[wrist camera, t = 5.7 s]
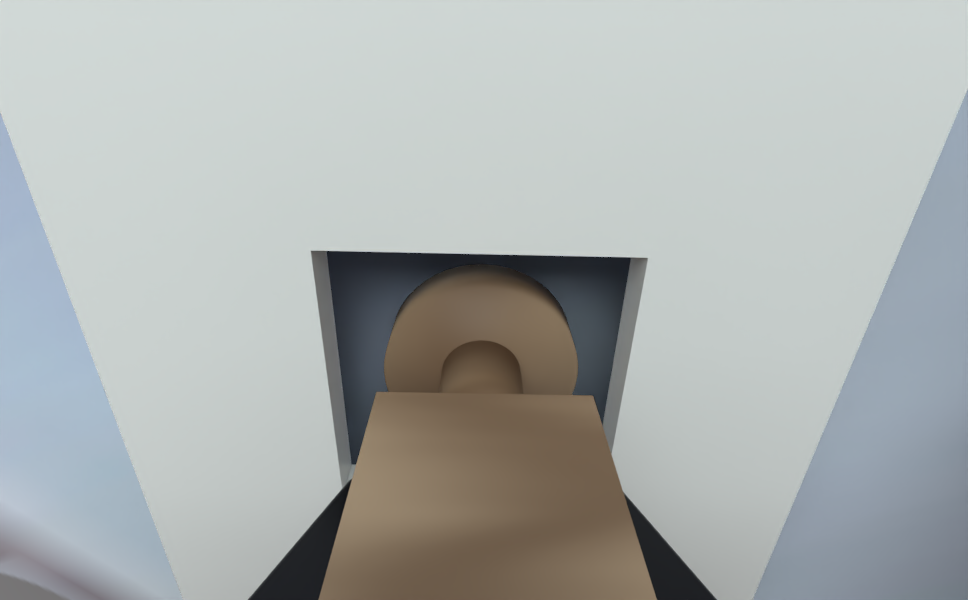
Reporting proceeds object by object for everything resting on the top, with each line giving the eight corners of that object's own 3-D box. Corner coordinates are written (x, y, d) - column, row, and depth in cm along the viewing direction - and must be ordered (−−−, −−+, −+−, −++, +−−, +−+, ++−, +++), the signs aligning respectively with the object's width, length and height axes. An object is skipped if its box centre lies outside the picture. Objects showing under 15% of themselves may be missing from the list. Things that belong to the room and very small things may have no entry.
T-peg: (579, 265, 12) (792, 767, 4) (560, 416, 14) (674, 954, 6) (386, 262, 12) (191, 767, 4) (396, 414, 14) (281, 957, 6)
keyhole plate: (902, -133, 10) (1091, -205, 7) (688, 555, 19) (728, 656, 16) (57, -168, 10) (-140, -260, 7) (248, 552, 19) (203, 655, 16)
